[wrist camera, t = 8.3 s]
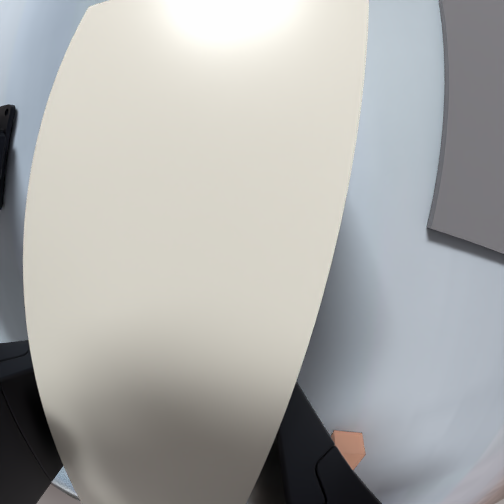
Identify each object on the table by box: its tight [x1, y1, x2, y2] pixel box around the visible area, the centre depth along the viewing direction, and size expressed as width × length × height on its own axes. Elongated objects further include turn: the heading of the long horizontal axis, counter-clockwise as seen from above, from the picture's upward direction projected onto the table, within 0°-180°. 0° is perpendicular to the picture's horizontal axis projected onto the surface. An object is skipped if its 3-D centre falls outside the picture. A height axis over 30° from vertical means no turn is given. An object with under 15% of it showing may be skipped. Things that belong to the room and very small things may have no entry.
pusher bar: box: [23, 0, 369, 504], centre depth 6 cm, size 4×14×6 cm, turn 169°
